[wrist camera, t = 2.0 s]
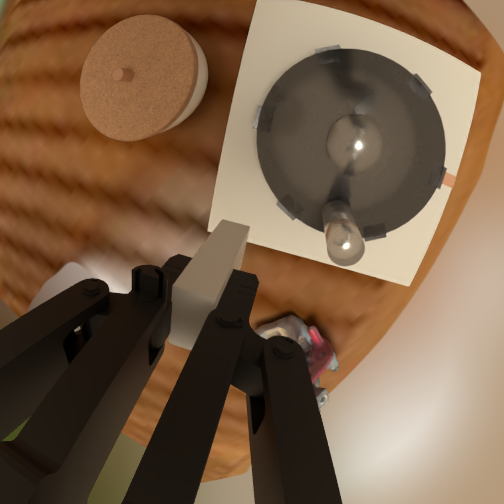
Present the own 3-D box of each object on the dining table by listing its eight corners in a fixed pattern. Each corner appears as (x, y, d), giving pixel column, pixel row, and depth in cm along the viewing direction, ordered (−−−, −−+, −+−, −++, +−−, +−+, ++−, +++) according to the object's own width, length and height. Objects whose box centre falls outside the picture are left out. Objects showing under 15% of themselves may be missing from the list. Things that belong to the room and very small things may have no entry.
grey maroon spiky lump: (307, 294, 30) (336, 408, 24) (335, 315, 39) (358, 400, 32) (217, 327, 34) (234, 428, 28) (262, 340, 43) (278, 419, 36)
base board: (261, -1, 20) (258, -7, 19) (473, 74, 19) (482, 73, 18) (211, 225, 31) (206, 231, 30) (405, 279, 30) (409, 287, 29)
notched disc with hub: (279, 33, 20) (265, -6, 12) (454, 95, 19) (513, 95, 11) (240, 201, 28) (211, 242, 19) (404, 248, 27) (436, 303, 18)
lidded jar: (111, 75, 25) (51, 72, 17) (191, 14, 22) (146, -17, 13) (154, 152, 29) (101, 171, 20) (243, 96, 25) (214, 88, 17)
